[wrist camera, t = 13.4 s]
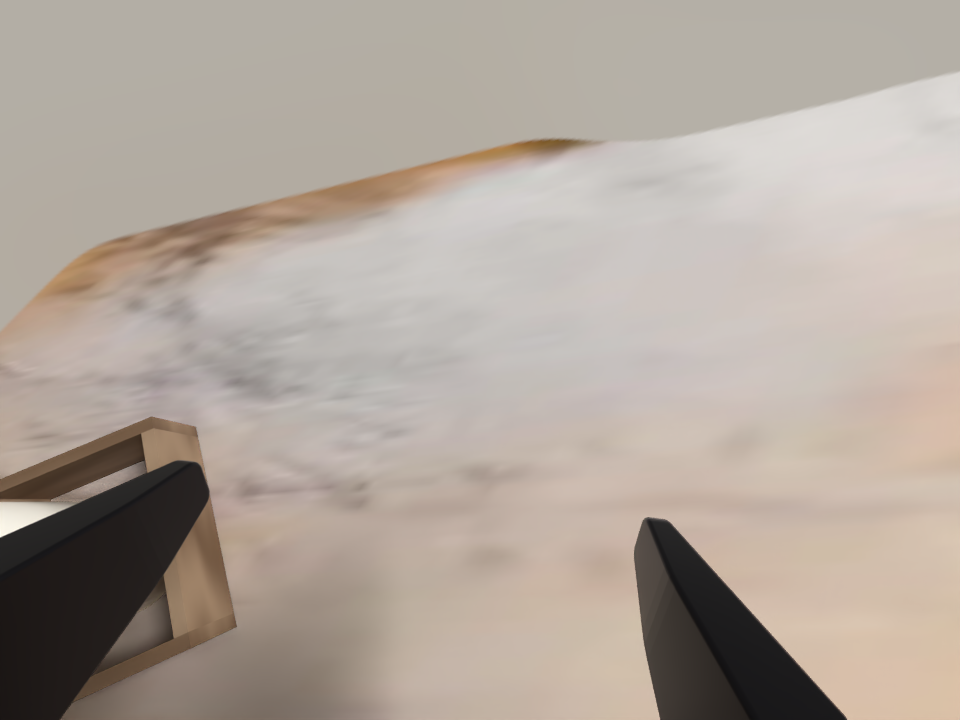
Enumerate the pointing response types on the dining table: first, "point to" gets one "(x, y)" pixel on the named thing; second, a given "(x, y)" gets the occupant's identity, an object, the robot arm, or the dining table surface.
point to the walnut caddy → (196, 566)
